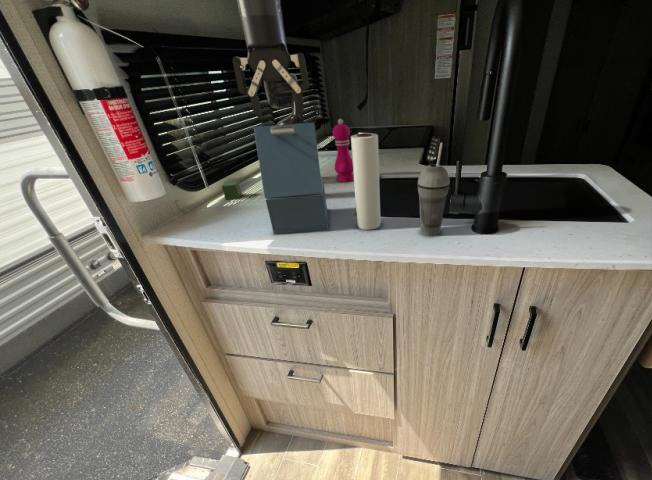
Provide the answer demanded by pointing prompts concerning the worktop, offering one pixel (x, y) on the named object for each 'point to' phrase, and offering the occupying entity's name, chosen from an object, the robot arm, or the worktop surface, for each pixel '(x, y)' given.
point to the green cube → (232, 190)
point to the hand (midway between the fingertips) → (280, 115)
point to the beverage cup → (432, 196)
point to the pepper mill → (343, 153)
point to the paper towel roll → (366, 179)
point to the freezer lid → (288, 160)
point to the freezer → (298, 213)
